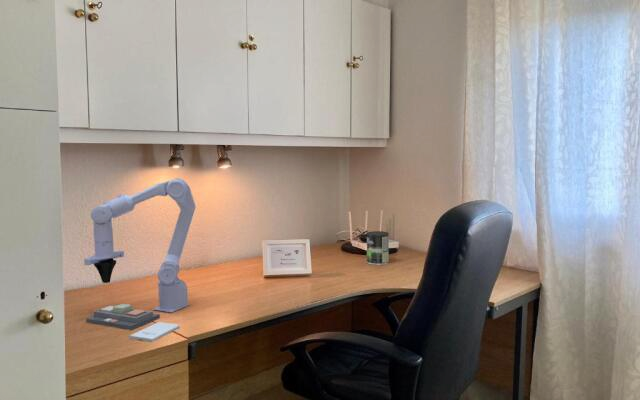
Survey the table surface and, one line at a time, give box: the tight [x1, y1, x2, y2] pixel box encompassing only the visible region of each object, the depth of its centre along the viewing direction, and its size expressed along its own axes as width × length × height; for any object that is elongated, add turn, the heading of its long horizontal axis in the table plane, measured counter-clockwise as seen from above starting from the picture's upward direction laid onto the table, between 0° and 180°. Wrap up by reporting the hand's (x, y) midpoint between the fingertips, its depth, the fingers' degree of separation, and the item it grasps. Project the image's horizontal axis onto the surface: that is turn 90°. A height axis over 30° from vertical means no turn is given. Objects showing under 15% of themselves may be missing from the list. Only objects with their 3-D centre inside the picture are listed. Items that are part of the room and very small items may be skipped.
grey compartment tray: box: [85, 308, 161, 331], centre depth 164 cm, size 12×19×3 cm, turn 65°
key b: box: [113, 303, 133, 315], centre depth 164 cm, size 4×4×2 cm
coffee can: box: [366, 230, 390, 266], centre depth 241 cm, size 10×10×14 cm
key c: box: [126, 309, 146, 317], centre depth 162 cm, size 4×4×2 cm
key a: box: [100, 305, 115, 313], centre depth 166 cm, size 4×4×2 cm
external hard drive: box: [128, 321, 181, 343], centre depth 152 cm, size 2×8×12 cm
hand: (106, 282), depth 171 cm, fingers closed
